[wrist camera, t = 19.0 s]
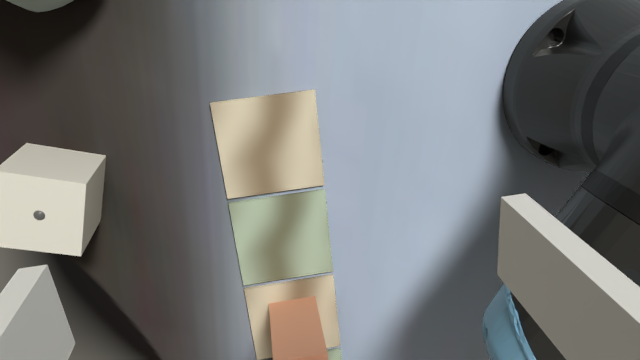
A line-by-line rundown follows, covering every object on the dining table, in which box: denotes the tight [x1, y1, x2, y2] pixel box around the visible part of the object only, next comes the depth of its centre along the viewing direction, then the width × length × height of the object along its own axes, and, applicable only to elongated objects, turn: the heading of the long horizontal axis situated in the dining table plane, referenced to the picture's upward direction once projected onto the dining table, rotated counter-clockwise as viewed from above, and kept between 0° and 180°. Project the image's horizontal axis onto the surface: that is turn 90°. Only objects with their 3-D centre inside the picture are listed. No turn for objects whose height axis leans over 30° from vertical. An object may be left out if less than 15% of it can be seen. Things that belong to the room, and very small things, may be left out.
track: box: [210, 89, 342, 360], centre depth 49 cm, size 8×36×1 cm, turn 6°
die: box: [0, 143, 106, 256], centre depth 40 cm, size 6×6×6 cm
